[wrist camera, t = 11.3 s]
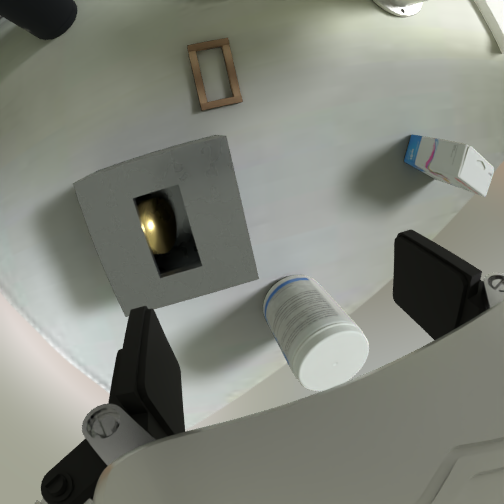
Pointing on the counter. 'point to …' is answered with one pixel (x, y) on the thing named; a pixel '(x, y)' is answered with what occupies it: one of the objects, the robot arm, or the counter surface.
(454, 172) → the ink box
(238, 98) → the cradle
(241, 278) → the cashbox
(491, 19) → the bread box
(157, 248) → the coin
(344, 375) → the supplement tub
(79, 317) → the counter surface
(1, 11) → the black water bottle
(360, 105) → the counter surface
